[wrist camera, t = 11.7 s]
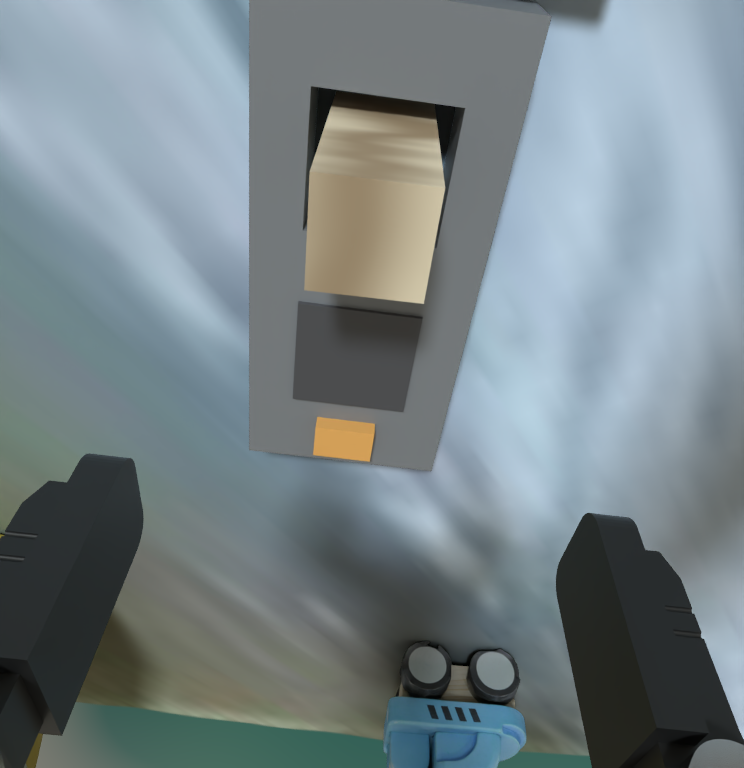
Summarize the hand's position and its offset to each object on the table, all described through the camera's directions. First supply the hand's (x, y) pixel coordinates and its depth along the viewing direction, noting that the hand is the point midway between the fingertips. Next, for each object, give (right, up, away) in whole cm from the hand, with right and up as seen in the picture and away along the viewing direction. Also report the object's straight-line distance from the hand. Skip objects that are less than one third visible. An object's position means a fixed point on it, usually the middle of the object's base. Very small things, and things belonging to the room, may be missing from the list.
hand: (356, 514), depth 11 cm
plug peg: (+1, +12, +15) cm, 20 cm away
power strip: (0, +9, +18) cm, 20 cm away
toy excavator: (+4, -22, +43) cm, 48 cm away
